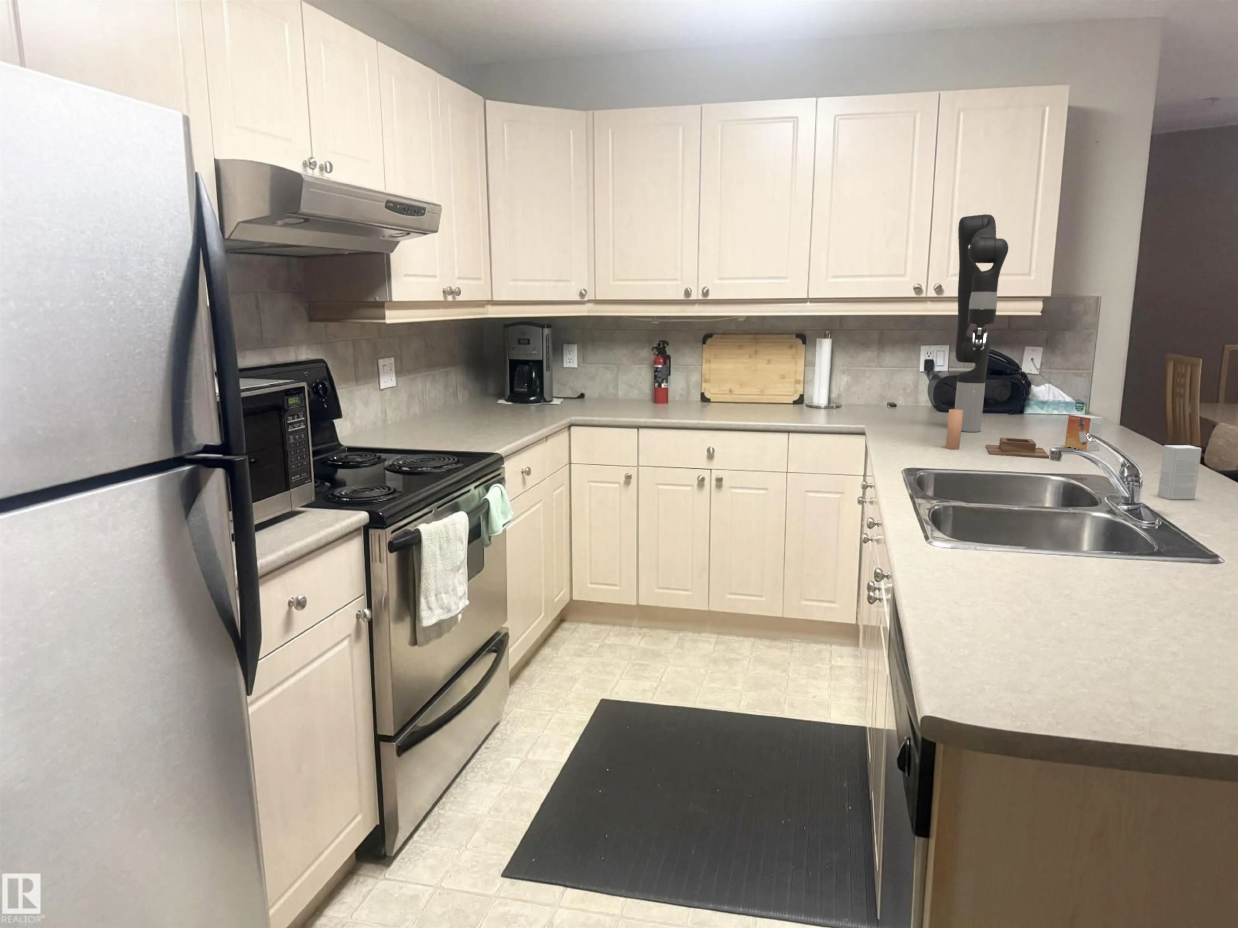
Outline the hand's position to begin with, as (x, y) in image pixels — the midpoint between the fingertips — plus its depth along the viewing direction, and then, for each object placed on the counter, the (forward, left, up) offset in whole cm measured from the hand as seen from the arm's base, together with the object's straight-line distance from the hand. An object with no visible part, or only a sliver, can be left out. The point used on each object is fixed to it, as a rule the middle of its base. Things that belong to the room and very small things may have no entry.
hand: (977, 362), depth 242 cm
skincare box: (+53, +41, -27) cm, 72 cm away
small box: (-16, +33, -27) cm, 46 cm away
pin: (+1, -5, -27) cm, 27 cm away
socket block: (0, +13, -27) cm, 30 cm away
